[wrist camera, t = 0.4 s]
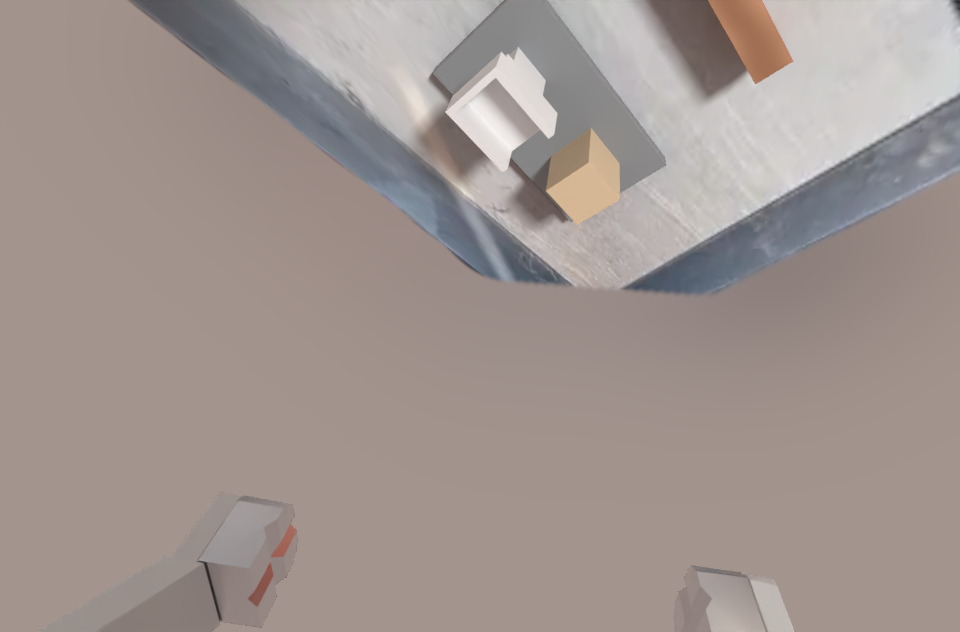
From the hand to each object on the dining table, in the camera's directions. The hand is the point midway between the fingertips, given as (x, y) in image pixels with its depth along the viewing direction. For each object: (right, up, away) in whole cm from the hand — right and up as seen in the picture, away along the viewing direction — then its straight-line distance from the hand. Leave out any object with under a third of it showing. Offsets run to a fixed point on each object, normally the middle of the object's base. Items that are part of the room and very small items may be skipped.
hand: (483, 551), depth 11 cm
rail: (+20, +32, +34) cm, 51 cm away
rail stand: (+7, +25, +44) cm, 52 cm away
